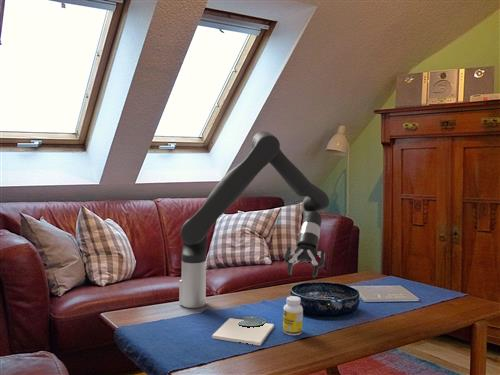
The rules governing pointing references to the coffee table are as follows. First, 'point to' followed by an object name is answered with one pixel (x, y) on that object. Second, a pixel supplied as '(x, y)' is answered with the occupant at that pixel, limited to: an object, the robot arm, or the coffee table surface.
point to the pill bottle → (292, 316)
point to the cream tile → (242, 332)
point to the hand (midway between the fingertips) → (301, 275)
